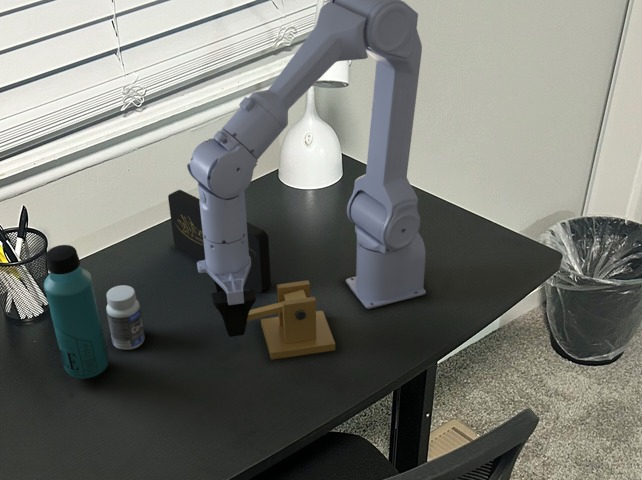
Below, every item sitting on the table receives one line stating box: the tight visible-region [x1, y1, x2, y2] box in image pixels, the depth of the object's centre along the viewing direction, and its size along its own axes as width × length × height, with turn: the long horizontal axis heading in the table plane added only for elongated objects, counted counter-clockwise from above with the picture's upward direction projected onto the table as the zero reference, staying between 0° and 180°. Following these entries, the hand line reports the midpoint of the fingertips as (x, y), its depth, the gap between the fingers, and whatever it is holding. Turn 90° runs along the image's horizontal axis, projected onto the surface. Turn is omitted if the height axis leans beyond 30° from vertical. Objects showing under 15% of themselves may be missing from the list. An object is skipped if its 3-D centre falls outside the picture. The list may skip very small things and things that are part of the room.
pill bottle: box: [105, 284, 146, 351], centre depth 129 cm, size 5×5×8 cm
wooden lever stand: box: [260, 279, 336, 360], centre depth 127 cm, size 9×8×8 cm
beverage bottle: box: [43, 244, 110, 379], centre depth 121 cm, size 6×7×20 cm
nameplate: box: [167, 189, 272, 293], centre depth 142 cm, size 21×2×10 cm, turn 41°
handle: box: [247, 290, 306, 322], centre depth 126 cm, size 11×5×2 cm, turn 96°
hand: (232, 317), depth 126 cm, fingers open, 7 cm apart
